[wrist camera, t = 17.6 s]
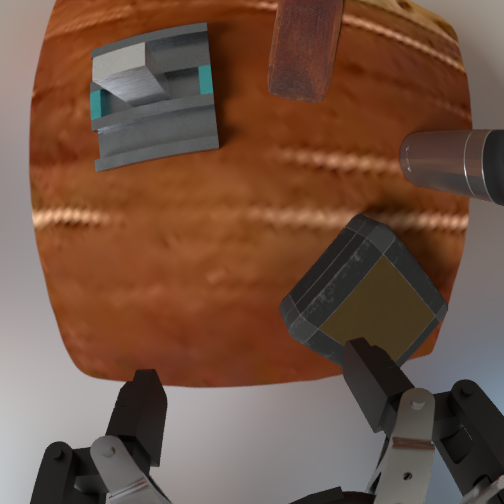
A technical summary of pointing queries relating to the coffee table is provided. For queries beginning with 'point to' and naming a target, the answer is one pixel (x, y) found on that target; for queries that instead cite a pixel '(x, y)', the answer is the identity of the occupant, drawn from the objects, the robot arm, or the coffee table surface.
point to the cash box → (364, 296)
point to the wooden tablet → (304, 48)
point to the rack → (159, 103)
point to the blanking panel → (132, 75)
